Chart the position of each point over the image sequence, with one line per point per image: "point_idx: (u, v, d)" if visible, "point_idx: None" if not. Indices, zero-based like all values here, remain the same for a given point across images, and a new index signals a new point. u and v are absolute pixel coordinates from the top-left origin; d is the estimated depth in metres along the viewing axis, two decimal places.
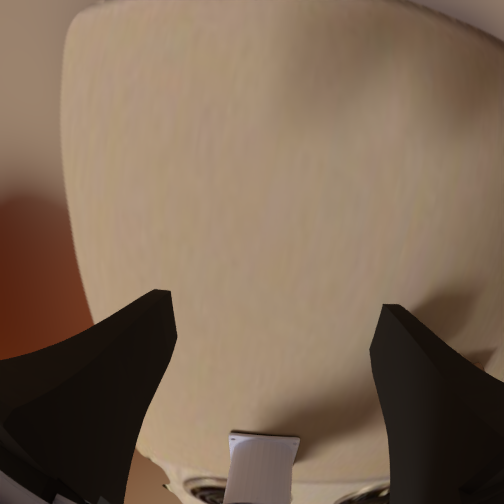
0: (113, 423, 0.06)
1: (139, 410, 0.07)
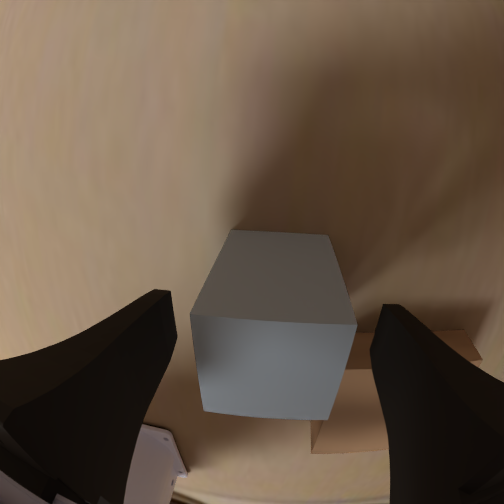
0: (113, 423, 0.06)
1: (139, 410, 0.07)
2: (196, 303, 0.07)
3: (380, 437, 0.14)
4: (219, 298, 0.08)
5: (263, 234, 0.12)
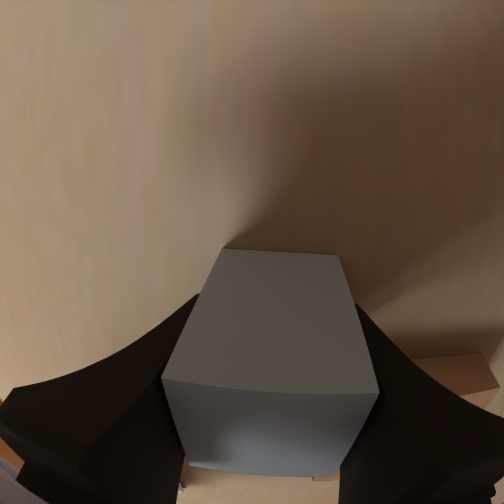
0: (170, 438, 0.06)
1: None
2: (171, 360, 0.05)
3: None
4: (199, 353, 0.06)
5: (260, 255, 0.10)
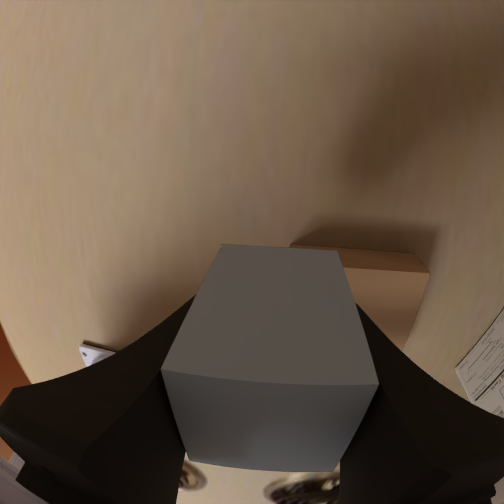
0: (170, 438, 0.06)
1: None
2: (170, 353, 0.05)
3: None
4: (199, 345, 0.06)
5: (260, 250, 0.10)
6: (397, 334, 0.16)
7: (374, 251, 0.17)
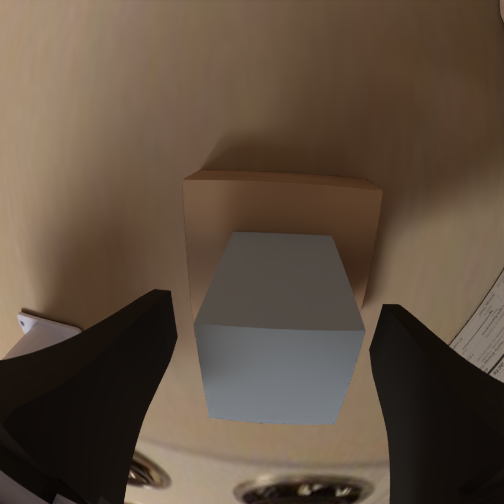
0: (113, 423, 0.06)
1: (139, 410, 0.07)
2: (200, 311, 0.07)
3: None
4: (223, 304, 0.07)
5: (266, 236, 0.12)
6: None
7: (308, 174, 0.13)
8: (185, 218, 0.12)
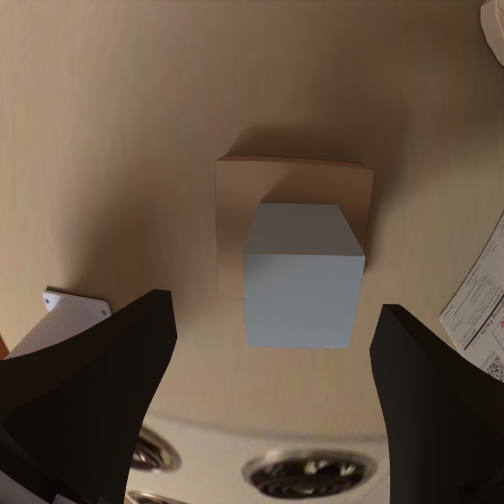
0: (113, 423, 0.06)
1: (139, 410, 0.07)
2: (246, 247, 0.10)
3: None
4: (261, 243, 0.10)
5: (285, 205, 0.15)
6: None
7: (314, 159, 0.16)
8: (216, 192, 0.15)
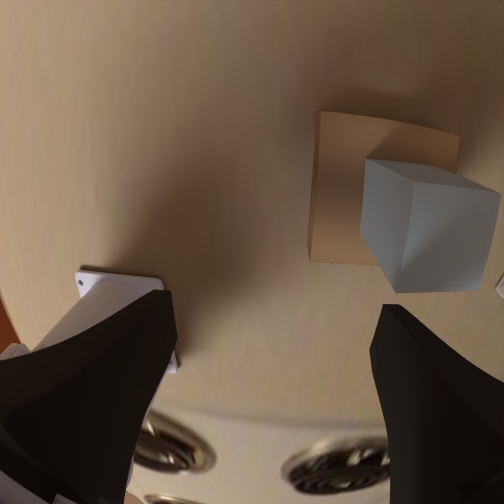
0: (113, 423, 0.06)
1: (139, 410, 0.07)
2: (409, 178, 0.09)
3: None
4: (418, 178, 0.09)
5: (392, 161, 0.13)
6: None
7: None
8: (320, 143, 0.14)
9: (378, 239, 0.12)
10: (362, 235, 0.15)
